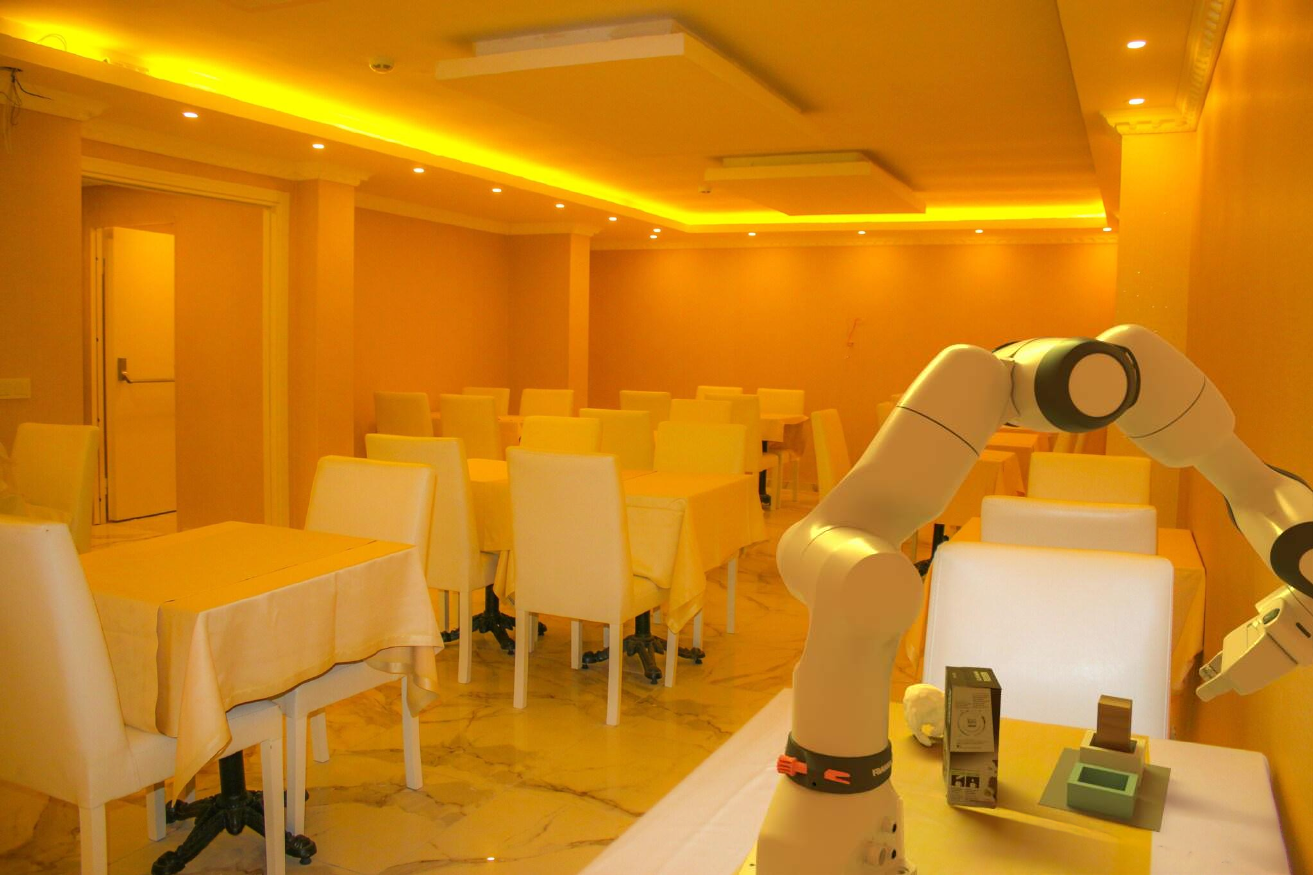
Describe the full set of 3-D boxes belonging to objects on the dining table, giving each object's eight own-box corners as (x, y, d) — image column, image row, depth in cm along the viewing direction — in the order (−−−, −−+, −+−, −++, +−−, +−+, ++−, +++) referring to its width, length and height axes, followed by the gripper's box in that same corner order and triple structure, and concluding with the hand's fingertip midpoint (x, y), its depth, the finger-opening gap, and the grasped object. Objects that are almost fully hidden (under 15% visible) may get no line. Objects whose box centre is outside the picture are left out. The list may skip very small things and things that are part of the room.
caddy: (1158, 839, 119) (1160, 799, 119) (1037, 811, 127) (1039, 773, 126) (1170, 775, 138) (1172, 740, 138) (1064, 753, 145) (1065, 721, 145)
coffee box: (998, 809, 127) (1002, 688, 126) (946, 804, 128) (950, 684, 127) (988, 780, 136) (993, 666, 135) (940, 776, 137) (944, 663, 136)
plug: (1126, 779, 134) (1129, 708, 133) (1094, 772, 136) (1097, 702, 136) (1129, 769, 138) (1132, 699, 137) (1098, 762, 140) (1101, 694, 139)
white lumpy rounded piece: (901, 677, 153) (976, 684, 153) (894, 730, 153) (969, 736, 154) (914, 690, 147) (992, 697, 147) (907, 745, 147) (984, 752, 148)
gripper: (1271, 589, 135) (1187, 648, 140) (1275, 622, 117) (1178, 687, 123) (1308, 626, 133) (1221, 684, 138) (1317, 665, 115) (1217, 729, 121)
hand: (1201, 686), depth 131 cm, fingers open, 8 cm apart
